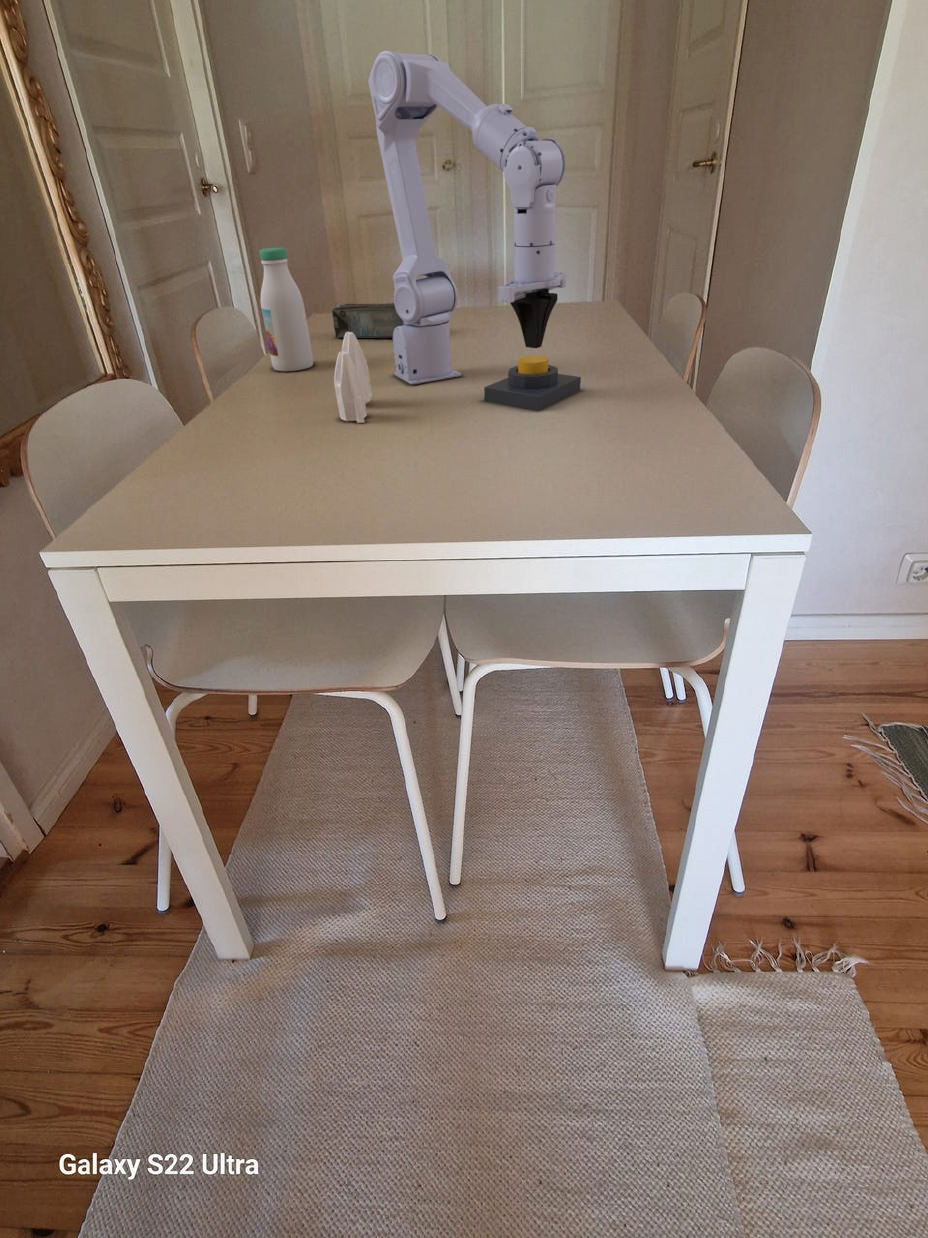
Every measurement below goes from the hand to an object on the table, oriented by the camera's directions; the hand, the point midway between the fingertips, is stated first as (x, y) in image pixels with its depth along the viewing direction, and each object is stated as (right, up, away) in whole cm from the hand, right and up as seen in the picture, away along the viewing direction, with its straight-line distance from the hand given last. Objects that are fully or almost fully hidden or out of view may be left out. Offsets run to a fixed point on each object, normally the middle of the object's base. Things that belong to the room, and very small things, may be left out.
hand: (533, 346), depth 103 cm
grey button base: (0, -6, +4) cm, 7 cm away
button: (0, -3, +2) cm, 4 cm away
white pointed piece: (-27, -9, +2) cm, 29 cm away
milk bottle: (-43, +7, +27) cm, 51 cm away
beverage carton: (-29, +21, +48) cm, 60 cm away
